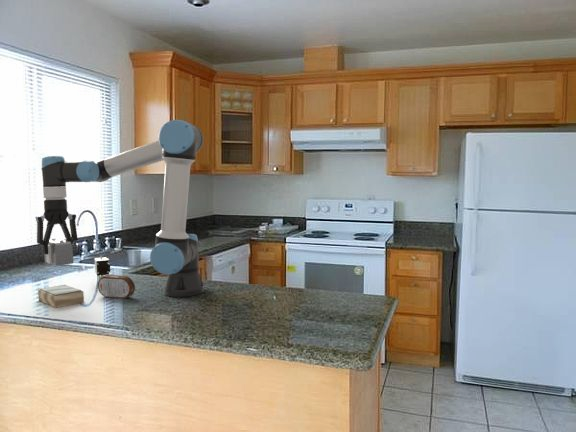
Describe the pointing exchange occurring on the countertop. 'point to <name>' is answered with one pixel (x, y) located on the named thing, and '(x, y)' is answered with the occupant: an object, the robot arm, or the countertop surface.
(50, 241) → the housing
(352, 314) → the countertop surface
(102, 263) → the pneumatic valve
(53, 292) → the stand
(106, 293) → the tin
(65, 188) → the robot arm
